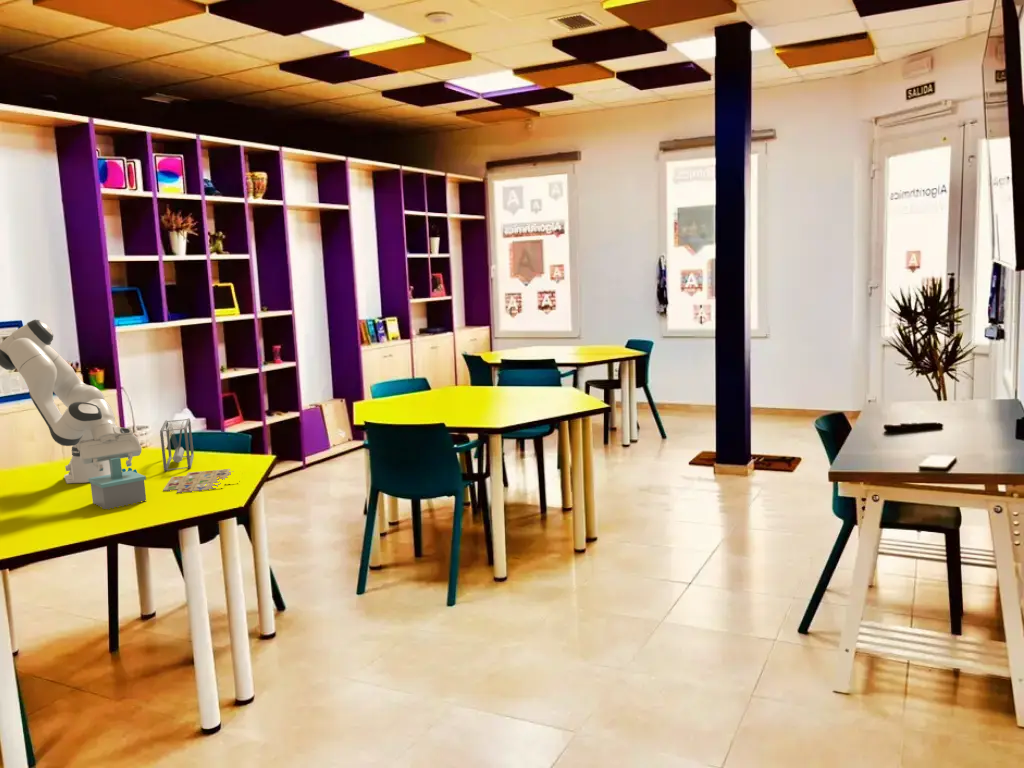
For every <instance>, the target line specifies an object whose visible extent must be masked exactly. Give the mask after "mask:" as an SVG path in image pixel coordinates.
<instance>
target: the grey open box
mask: <svg viewBox="0 0 1024 768" xmlns="http://www.w3.org/2000/svg"><path fill="white" fill-rule="evenodd" d="M90 491H91V496H92V503H93V504H94V505H95V504H96V505H95V506H97V505H98V506H97V507H99V506H100V508H101V507H102V508H101V509H103V510H104V509H108V510H111V509H110V508H112V509H115V508H114V507H117V508H120V507H119V506H122V507H125V506H124V505H126V506H129V505H128V504H131V505H134V504H133V503H136V504H138V503H137V502H141V501H145V500H146V501H147V496H146V486H145V480H141V481H136V482H131V483H126V484H121V485H116V486H110V487H105V488H100V487H98V486H96V485H94V484H92V483H90ZM146 501H145V502H146ZM141 503H142V502H141Z"/></svg>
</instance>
